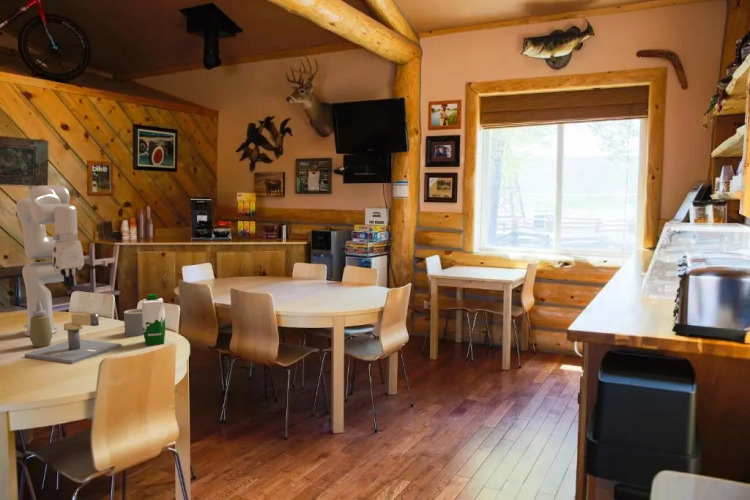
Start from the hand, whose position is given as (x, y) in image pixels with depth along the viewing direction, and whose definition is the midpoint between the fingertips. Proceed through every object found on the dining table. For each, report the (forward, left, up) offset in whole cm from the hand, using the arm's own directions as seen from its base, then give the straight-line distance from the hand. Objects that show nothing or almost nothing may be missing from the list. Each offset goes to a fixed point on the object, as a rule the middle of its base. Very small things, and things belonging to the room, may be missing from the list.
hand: (69, 286), depth 221 cm
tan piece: (0, +5, -18) cm, 18 cm away
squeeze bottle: (-24, +6, -27) cm, 37 cm away
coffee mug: (-1, +37, -27) cm, 46 cm away
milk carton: (+16, +26, -27) cm, 41 cm away
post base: (-4, +4, -27) cm, 28 cm away
